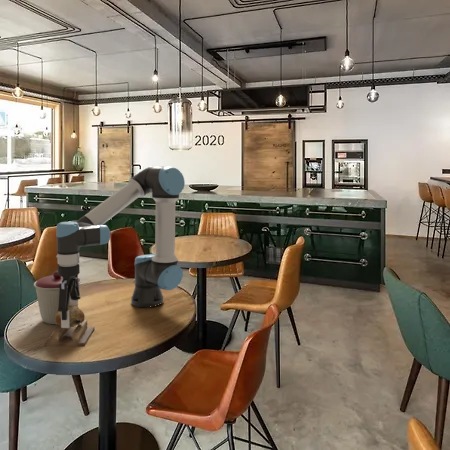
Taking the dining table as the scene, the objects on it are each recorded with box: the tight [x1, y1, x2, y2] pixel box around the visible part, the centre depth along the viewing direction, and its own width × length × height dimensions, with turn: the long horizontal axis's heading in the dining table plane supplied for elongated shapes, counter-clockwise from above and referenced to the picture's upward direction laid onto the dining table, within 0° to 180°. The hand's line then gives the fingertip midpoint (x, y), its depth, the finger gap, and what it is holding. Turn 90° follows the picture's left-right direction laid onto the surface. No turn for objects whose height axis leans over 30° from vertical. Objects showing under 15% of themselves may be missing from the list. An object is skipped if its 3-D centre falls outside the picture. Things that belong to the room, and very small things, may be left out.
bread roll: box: [55, 306, 86, 327], centre depth 146 cm, size 10×10×8 cm
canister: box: [33, 270, 82, 325], centre depth 162 cm, size 18×18×21 cm
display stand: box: [44, 319, 96, 347], centre depth 147 cm, size 14×14×4 cm
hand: (70, 321), depth 146 cm, fingers closed on bread roll, 10 cm apart
